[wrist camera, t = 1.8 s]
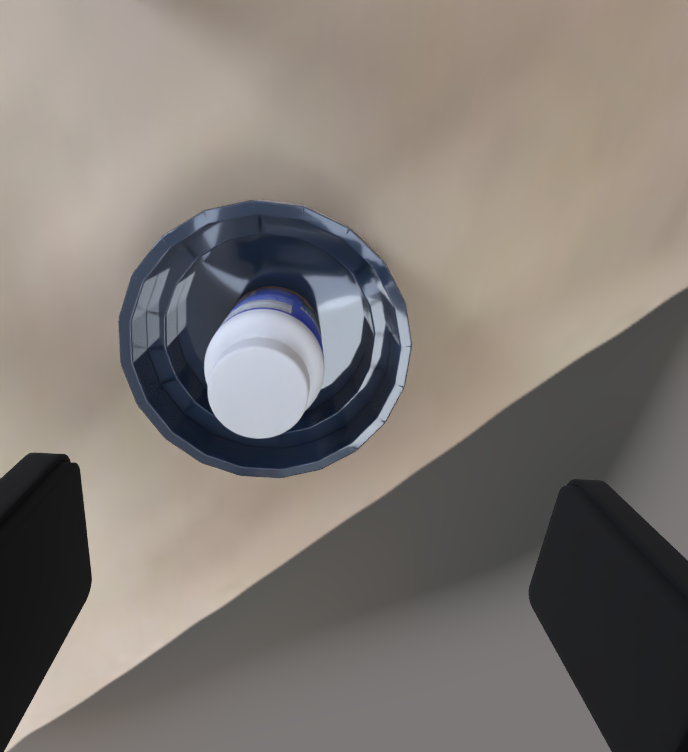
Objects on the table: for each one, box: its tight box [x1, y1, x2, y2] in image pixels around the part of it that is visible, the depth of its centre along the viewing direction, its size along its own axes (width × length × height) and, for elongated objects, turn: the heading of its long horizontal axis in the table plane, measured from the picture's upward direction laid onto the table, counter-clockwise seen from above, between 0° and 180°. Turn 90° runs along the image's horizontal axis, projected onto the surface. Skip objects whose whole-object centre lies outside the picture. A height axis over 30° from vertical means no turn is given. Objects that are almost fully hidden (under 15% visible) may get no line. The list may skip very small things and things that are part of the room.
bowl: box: [118, 199, 412, 478], centre depth 25 cm, size 14×14×5 cm
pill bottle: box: [204, 286, 324, 438], centre depth 23 cm, size 5×5×10 cm
